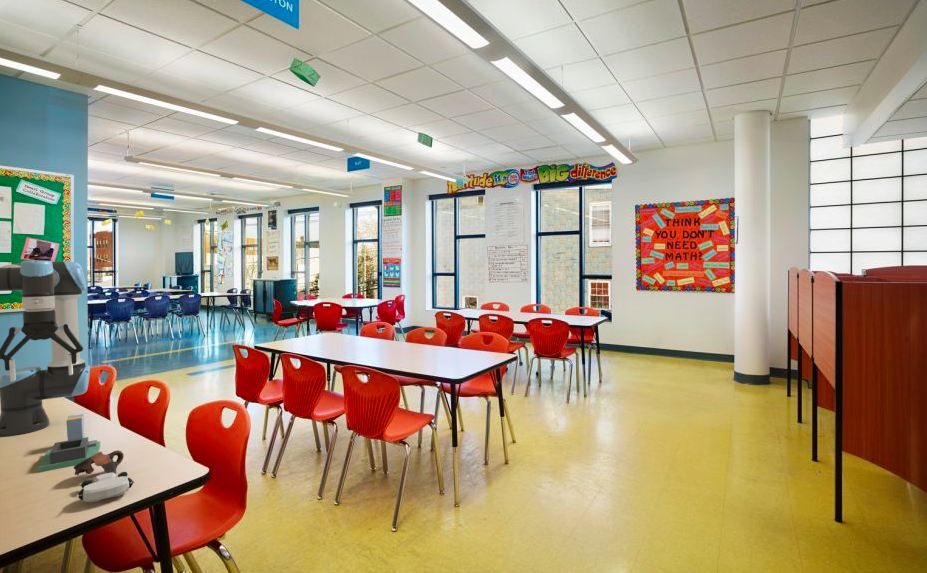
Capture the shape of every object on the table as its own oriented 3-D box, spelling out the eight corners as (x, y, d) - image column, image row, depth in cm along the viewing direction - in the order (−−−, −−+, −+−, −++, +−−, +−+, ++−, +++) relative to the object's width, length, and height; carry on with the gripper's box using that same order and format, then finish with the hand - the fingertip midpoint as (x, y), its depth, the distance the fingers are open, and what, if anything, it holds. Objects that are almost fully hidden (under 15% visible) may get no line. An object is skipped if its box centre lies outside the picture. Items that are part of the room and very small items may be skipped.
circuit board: (47, 454, 155) (46, 440, 155) (100, 445, 163) (99, 431, 163) (38, 472, 142) (37, 456, 142) (96, 460, 150) (95, 445, 149)
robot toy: (77, 494, 130) (77, 511, 118) (76, 478, 130) (76, 494, 118) (131, 481, 138) (136, 496, 126) (130, 465, 138) (135, 479, 126)
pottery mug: (92, 488, 132) (76, 464, 132) (80, 495, 137) (64, 472, 136) (135, 461, 143) (120, 439, 142) (123, 469, 147) (108, 447, 147)
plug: (70, 443, 165) (68, 415, 165) (84, 440, 167) (83, 413, 167) (67, 448, 160) (66, 420, 160) (82, 446, 163) (81, 417, 162)
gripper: (-21, 313, 135) (-17, 386, 136) (89, 308, 149) (92, 373, 150) (-14, 311, 141) (-10, 380, 142) (91, 306, 155) (94, 369, 156)
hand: (42, 377), depth 146 cm, fingers open, 13 cm apart
